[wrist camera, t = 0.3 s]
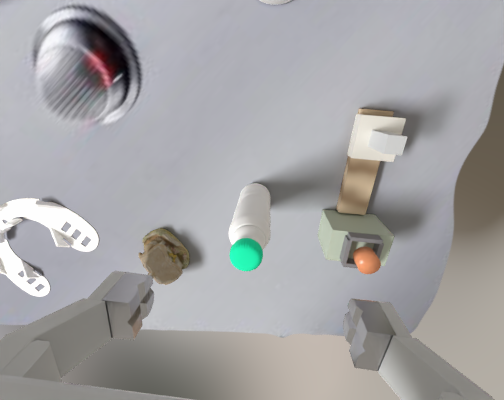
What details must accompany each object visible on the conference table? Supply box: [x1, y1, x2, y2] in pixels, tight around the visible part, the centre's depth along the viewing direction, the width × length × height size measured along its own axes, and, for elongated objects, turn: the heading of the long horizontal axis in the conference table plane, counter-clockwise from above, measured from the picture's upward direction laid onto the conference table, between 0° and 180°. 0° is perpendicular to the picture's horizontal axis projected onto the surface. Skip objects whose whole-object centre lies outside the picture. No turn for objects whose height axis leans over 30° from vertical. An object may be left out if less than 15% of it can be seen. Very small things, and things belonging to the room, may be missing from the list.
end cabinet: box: [318, 209, 395, 268], centre depth 54 cm, size 7×12×12 cm, turn 85°
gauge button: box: [353, 247, 381, 274], centre depth 46 cm, size 4×4×3 cm
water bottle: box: [229, 183, 271, 271], centre depth 47 cm, size 7×7×25 cm
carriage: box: [347, 114, 407, 162], centre depth 45 cm, size 8×8×10 cm
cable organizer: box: [0, 198, 99, 296], centre depth 67 cm, size 35×24×3 cm
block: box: [336, 109, 394, 215], centre depth 53 cm, size 22×6×2 cm, turn 175°
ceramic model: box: [139, 228, 189, 285], centre depth 61 cm, size 14×11×10 cm
